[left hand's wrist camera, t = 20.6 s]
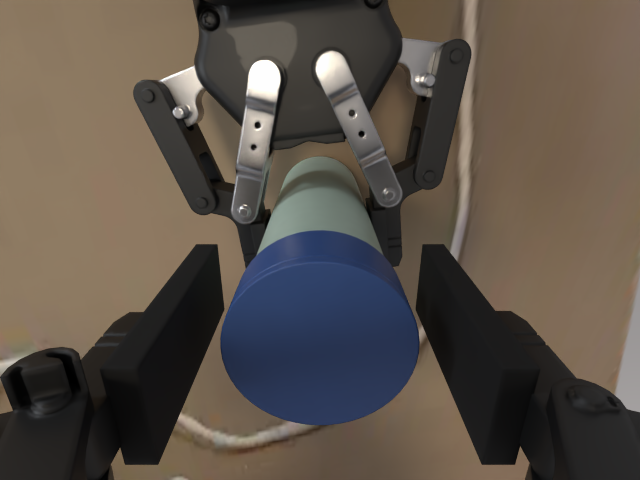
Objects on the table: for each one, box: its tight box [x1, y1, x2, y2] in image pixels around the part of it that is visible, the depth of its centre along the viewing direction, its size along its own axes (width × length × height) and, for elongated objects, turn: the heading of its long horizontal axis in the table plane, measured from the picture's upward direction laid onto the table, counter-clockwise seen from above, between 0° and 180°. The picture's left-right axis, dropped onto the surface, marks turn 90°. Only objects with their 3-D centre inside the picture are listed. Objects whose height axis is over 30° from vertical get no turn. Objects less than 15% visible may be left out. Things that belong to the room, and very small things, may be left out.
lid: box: [221, 230, 419, 425], centre depth 11 cm, size 5×5×2 cm
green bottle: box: [256, 156, 384, 256], centre depth 18 cm, size 5×5×15 cm
